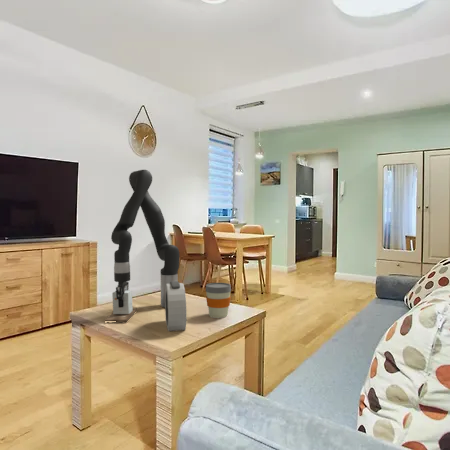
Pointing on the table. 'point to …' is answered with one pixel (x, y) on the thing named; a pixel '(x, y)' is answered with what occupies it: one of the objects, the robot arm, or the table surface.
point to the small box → (126, 302)
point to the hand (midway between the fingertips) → (122, 305)
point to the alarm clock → (175, 306)
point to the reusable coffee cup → (218, 299)
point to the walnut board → (121, 316)
